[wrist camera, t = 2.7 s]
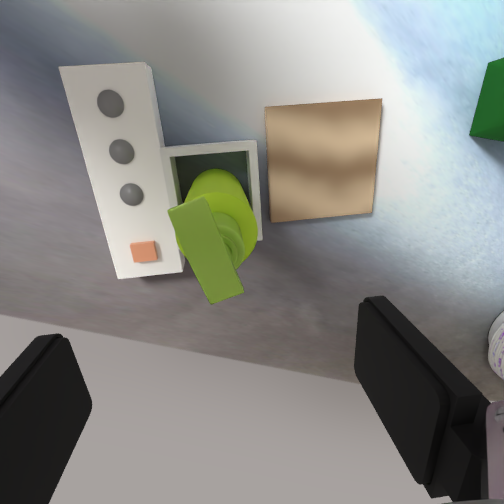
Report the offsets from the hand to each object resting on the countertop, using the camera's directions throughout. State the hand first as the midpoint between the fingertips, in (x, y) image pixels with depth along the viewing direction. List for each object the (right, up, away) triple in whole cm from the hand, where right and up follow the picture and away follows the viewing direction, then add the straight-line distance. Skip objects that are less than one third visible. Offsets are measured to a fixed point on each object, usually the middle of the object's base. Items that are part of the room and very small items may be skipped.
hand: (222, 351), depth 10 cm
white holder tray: (-7, +11, +22) cm, 26 cm away
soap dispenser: (-3, +10, +23) cm, 26 cm away
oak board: (+9, +13, +23) cm, 28 cm away
